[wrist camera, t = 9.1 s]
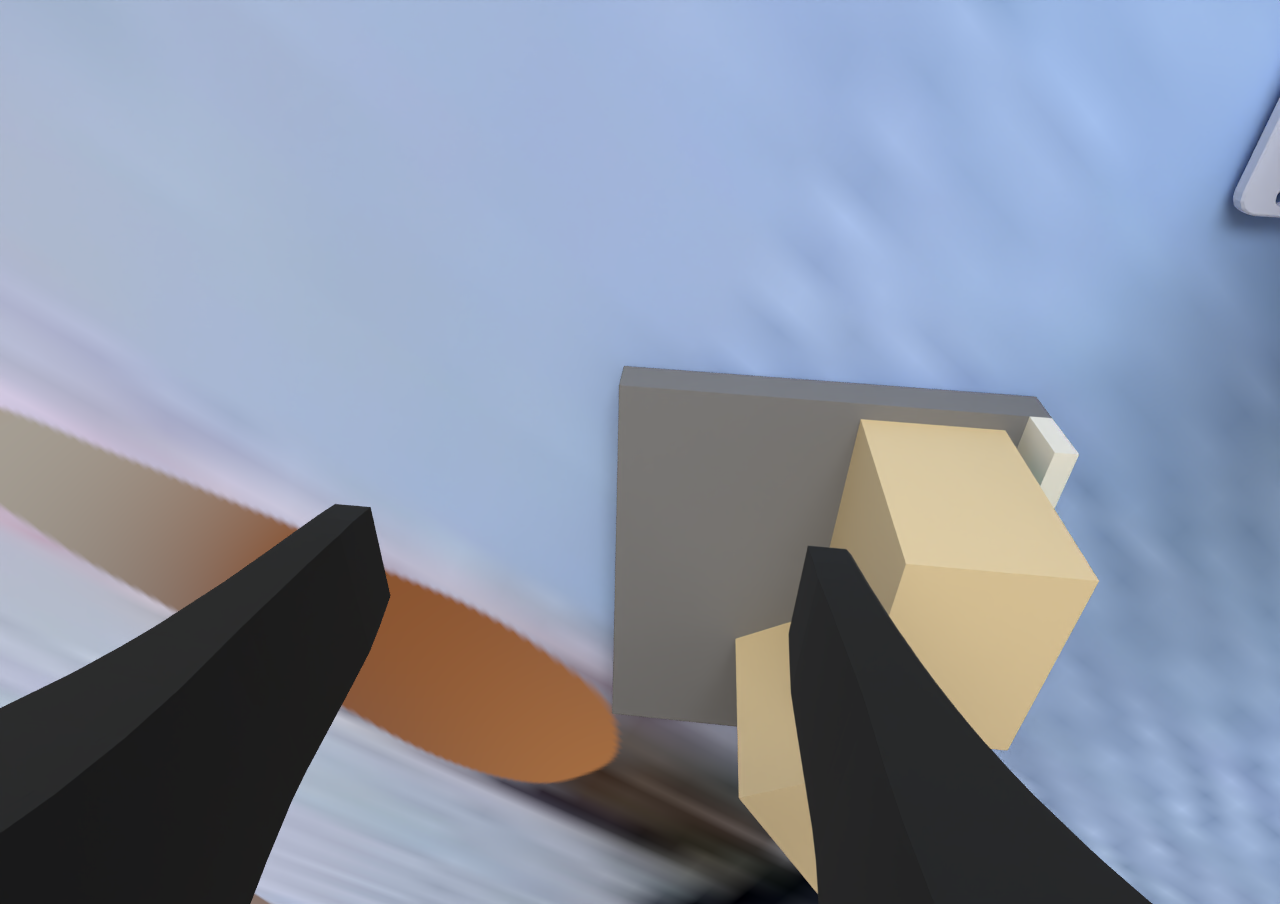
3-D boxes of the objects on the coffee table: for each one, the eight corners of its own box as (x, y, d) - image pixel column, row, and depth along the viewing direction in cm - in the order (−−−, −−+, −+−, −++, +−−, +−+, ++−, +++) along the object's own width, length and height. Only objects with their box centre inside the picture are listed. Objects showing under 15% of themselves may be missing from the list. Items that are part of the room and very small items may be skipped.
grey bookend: (1036, 396, 21) (1079, 454, 18) (909, 718, 29) (926, 788, 27) (623, 366, 21) (611, 417, 19) (615, 688, 30) (606, 753, 27)
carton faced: (947, 585, 23) (1008, 750, 18) (823, 574, 24) (850, 734, 19) (1006, 430, 20) (1099, 581, 15) (860, 419, 20) (906, 563, 15)
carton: (902, 709, 27) (942, 874, 22) (801, 734, 28) (819, 895, 23) (842, 605, 24) (873, 767, 19) (735, 638, 26) (738, 797, 21)
